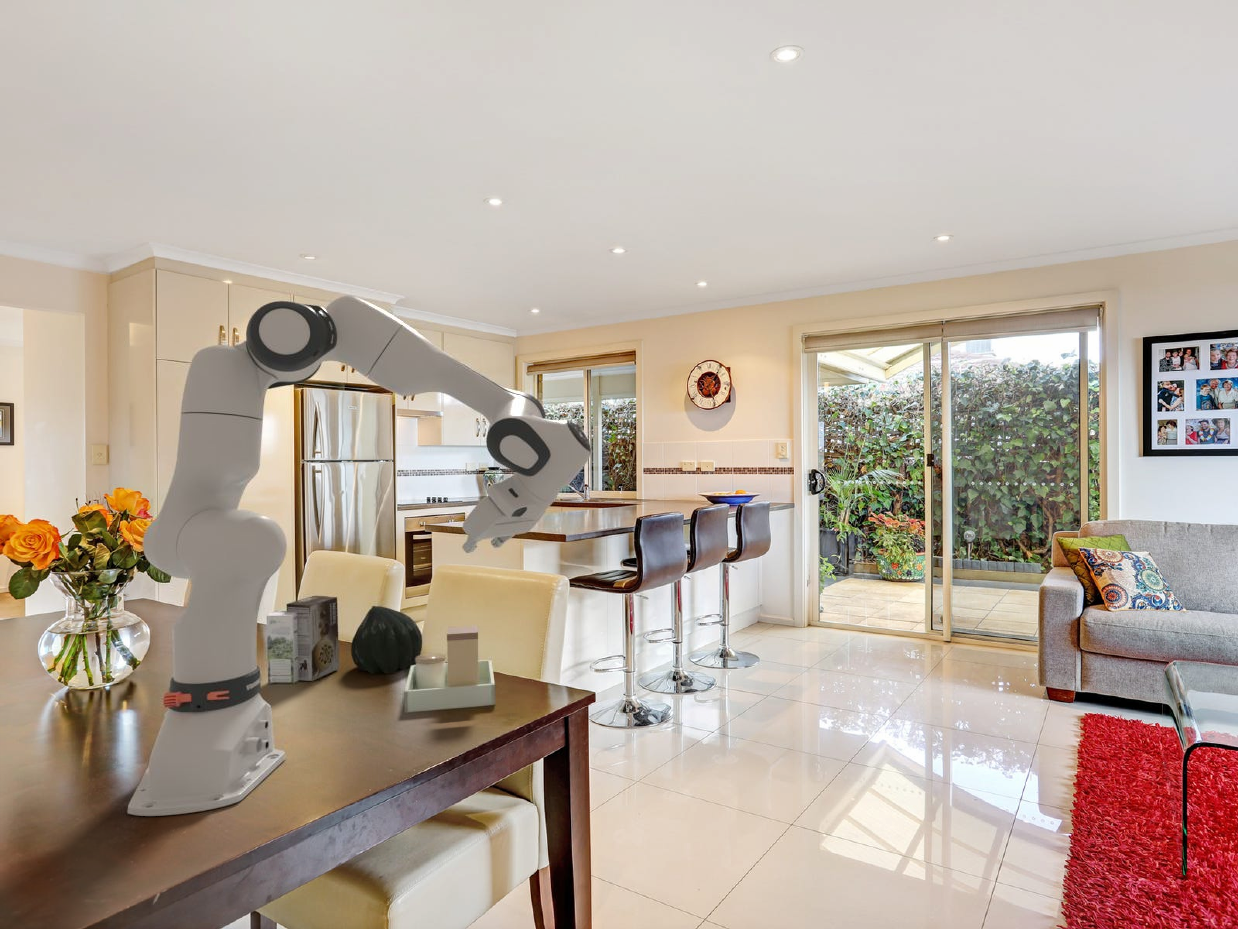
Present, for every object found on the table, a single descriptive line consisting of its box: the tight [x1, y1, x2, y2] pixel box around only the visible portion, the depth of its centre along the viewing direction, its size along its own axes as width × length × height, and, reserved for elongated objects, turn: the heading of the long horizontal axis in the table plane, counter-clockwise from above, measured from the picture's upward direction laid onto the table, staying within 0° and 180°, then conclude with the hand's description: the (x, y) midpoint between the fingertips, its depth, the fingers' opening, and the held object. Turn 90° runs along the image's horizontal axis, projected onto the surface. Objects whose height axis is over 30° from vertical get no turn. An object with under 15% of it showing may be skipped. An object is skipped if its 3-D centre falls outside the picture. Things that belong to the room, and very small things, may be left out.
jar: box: [415, 652, 446, 690], centre depth 143 cm, size 6×6×6 cm
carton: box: [446, 625, 479, 687], centre depth 136 cm, size 6×6×13 cm
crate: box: [403, 659, 496, 713], centre depth 139 cm, size 17×16×4 cm
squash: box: [350, 605, 423, 675], centre depth 158 cm, size 14×15×15 cm
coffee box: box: [286, 595, 340, 682], centre depth 155 cm, size 9×6×16 cm
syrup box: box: [266, 609, 299, 684], centre depth 152 cm, size 6×6×14 cm
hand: (480, 547), depth 136 cm, fingers open, 8 cm apart
